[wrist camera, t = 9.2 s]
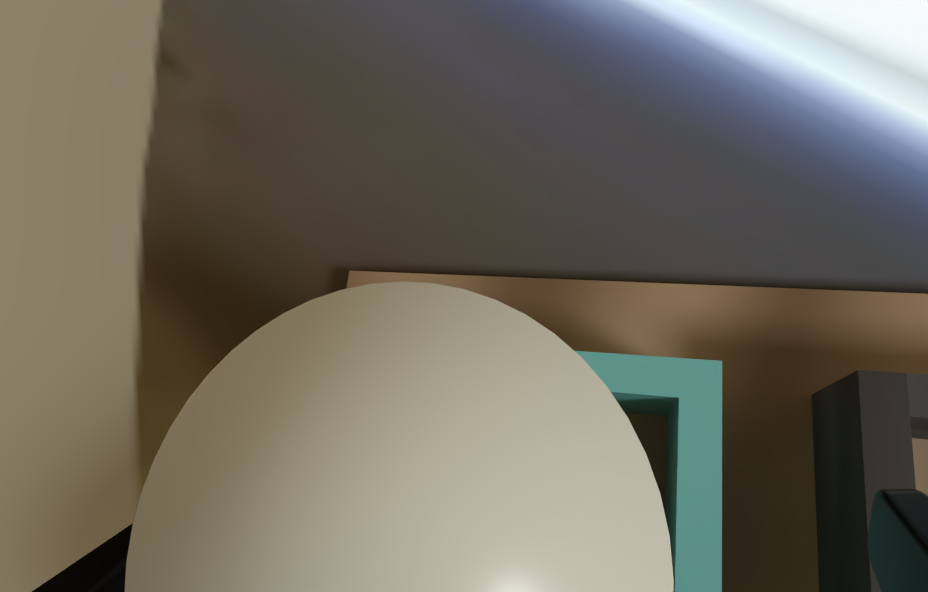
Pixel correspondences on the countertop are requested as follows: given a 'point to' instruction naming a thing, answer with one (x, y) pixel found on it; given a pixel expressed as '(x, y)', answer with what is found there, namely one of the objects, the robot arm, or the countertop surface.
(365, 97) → the countertop surface
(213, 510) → the plug
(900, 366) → the panel board
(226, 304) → the countertop surface
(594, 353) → the port
